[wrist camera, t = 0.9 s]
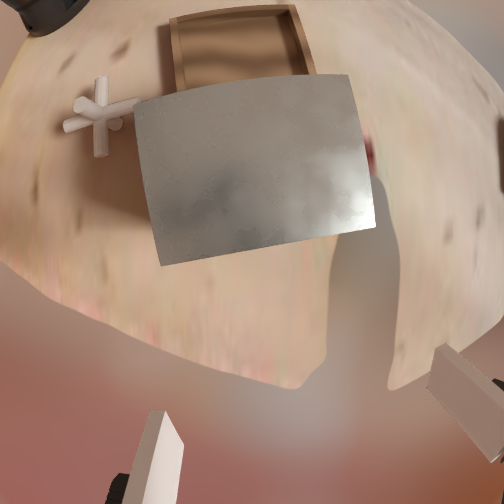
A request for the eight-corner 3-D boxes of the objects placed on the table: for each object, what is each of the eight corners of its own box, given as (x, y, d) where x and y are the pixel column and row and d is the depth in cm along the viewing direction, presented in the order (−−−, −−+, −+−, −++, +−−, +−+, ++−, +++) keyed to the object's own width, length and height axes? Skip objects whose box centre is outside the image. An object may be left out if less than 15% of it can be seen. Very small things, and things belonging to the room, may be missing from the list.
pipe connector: (86, 101, 28) (48, 80, 18) (151, 82, 29) (125, 49, 19) (86, 167, 30) (43, 163, 21) (153, 152, 31) (123, 138, 21)
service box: (174, 136, 30) (132, 97, 16) (301, 115, 31) (345, 68, 16) (192, 238, 33) (162, 272, 19) (318, 215, 34) (376, 232, 19)
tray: (172, 27, 27) (169, 19, 24) (291, 13, 27) (294, 4, 25) (185, 130, 30) (181, 125, 28) (318, 111, 31) (324, 106, 28)
